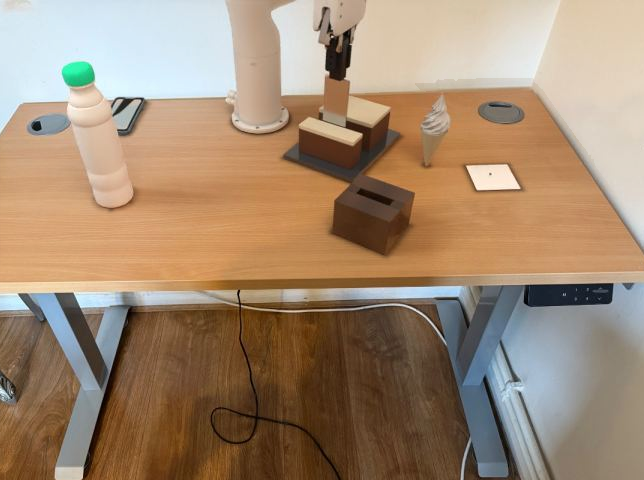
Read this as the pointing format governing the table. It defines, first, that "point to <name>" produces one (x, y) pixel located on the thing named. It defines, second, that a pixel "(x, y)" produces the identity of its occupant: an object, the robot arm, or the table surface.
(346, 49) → the knife
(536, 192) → the table surface
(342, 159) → the cake slice
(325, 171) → the cake board
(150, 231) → the table surface
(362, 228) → the knife block
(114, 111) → the smartphone
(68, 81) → the water bottle
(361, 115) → the cake
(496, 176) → the coaster
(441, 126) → the ice cream cone
